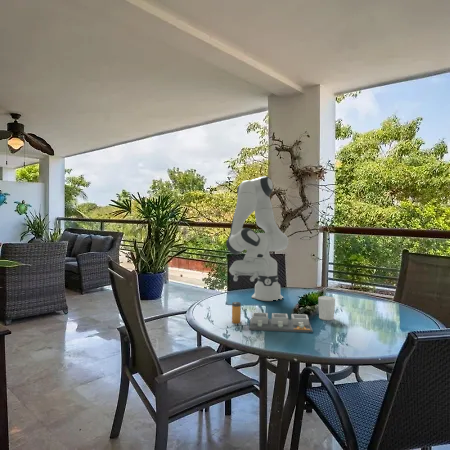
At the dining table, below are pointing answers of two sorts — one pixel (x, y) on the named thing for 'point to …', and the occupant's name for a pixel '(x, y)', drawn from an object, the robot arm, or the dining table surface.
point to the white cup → (326, 307)
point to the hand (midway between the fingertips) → (243, 280)
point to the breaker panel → (275, 327)
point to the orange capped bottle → (236, 312)
